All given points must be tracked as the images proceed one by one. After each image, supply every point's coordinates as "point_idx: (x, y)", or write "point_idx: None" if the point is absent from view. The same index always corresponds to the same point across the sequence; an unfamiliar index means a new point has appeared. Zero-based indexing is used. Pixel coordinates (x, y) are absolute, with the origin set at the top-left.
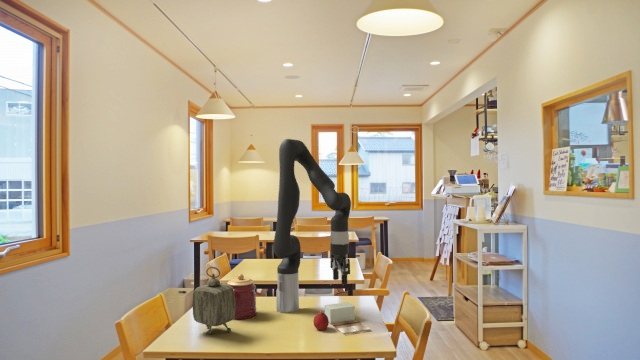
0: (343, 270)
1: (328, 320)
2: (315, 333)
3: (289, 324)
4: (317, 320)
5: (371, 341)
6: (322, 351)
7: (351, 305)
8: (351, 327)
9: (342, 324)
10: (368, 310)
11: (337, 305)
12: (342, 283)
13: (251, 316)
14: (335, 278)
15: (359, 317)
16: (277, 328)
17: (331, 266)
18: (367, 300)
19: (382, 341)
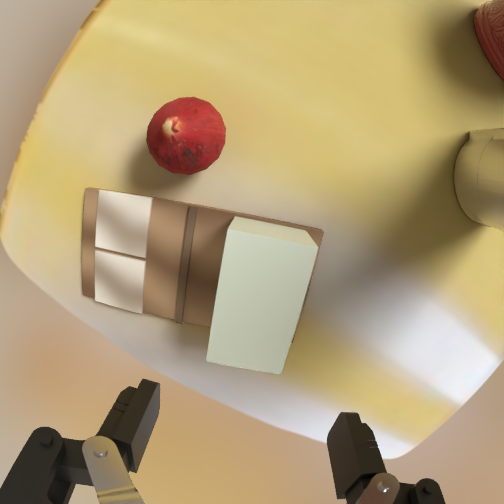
0: (42, 464)
1: (158, 164)
2: None
3: (359, 81)
4: (167, 103)
5: (44, 245)
6: (58, 73)
7: (223, 357)
8: (133, 255)
9: (183, 247)
10: (298, 419)
11: (268, 304)
12: (141, 384)
13: (482, 47)
14: (339, 428)
15: None
16: (339, 25)
17: (419, 497)
18: None
19: (36, 272)
